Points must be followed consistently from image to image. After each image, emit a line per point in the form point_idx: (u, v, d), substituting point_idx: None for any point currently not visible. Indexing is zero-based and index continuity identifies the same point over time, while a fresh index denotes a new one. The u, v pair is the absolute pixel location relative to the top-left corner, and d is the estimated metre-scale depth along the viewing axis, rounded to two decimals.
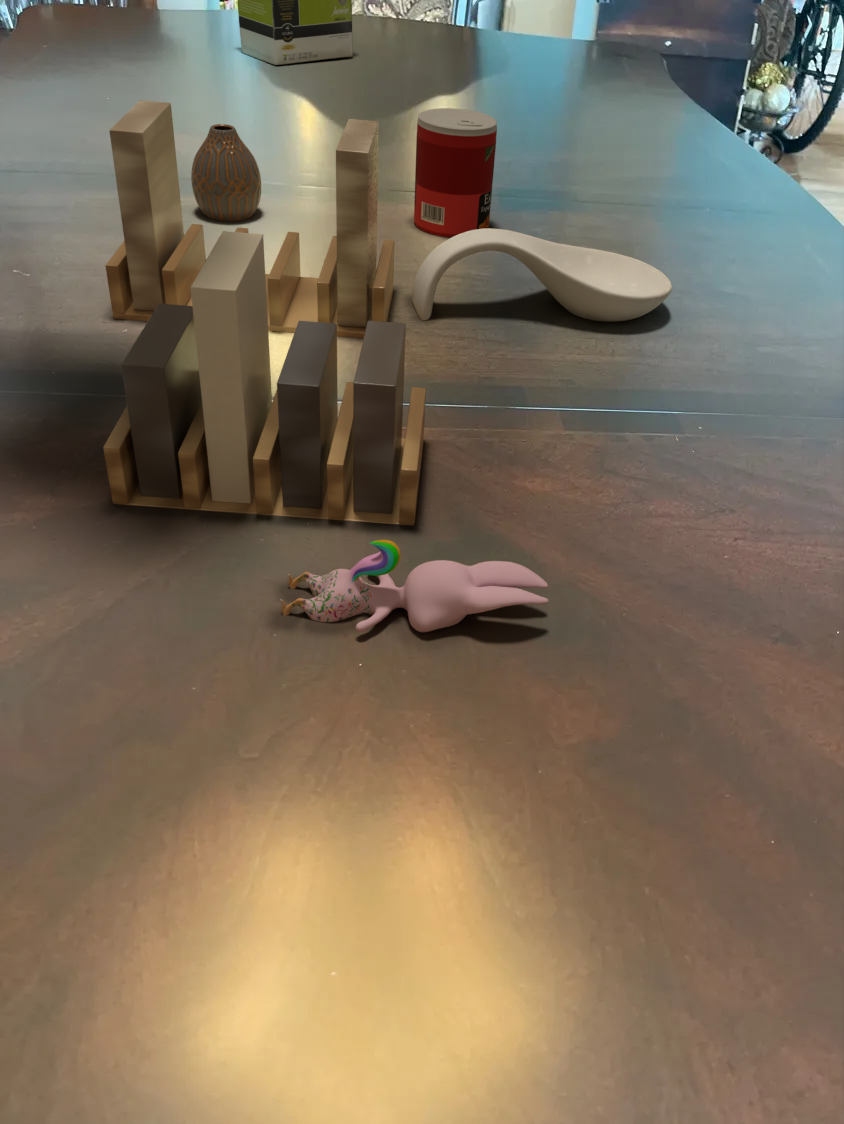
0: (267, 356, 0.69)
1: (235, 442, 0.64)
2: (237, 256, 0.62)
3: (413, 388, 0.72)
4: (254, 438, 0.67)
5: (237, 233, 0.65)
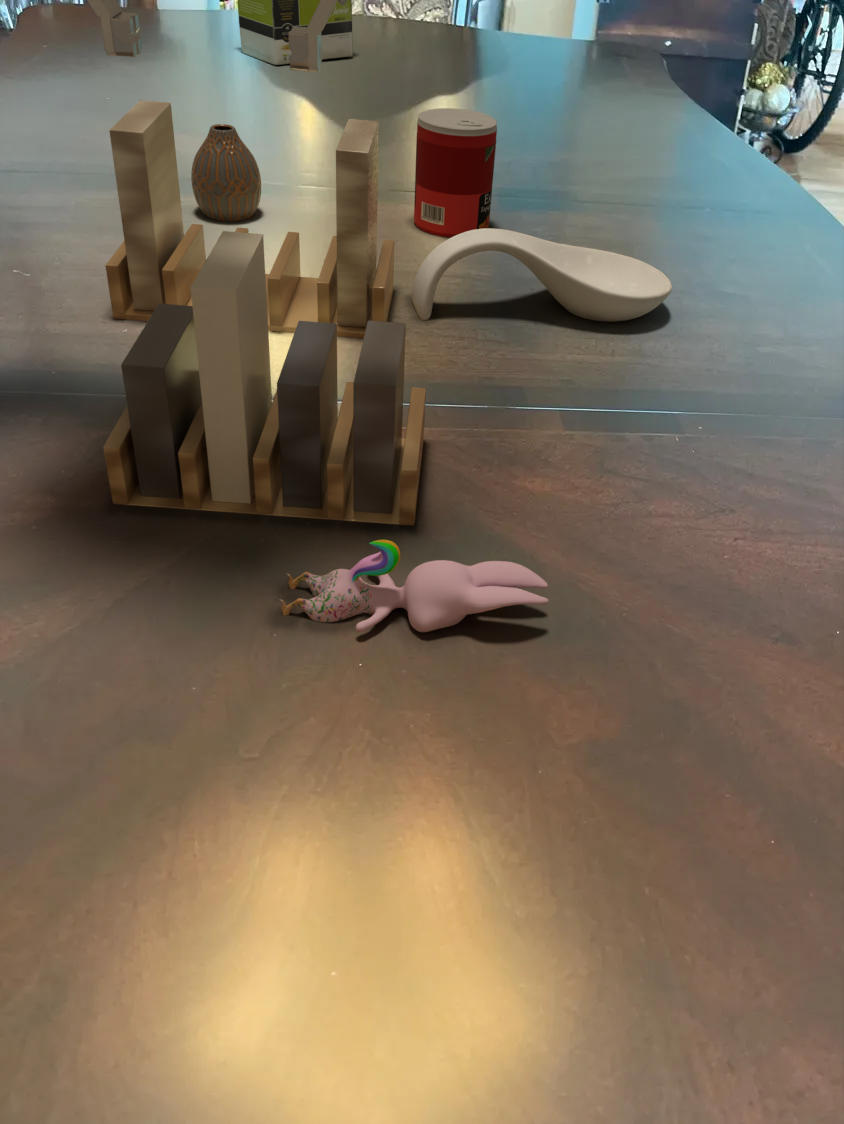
0: (267, 356, 0.69)
1: (235, 442, 0.64)
2: (237, 256, 0.62)
3: (413, 388, 0.72)
4: (254, 438, 0.67)
5: (237, 233, 0.65)
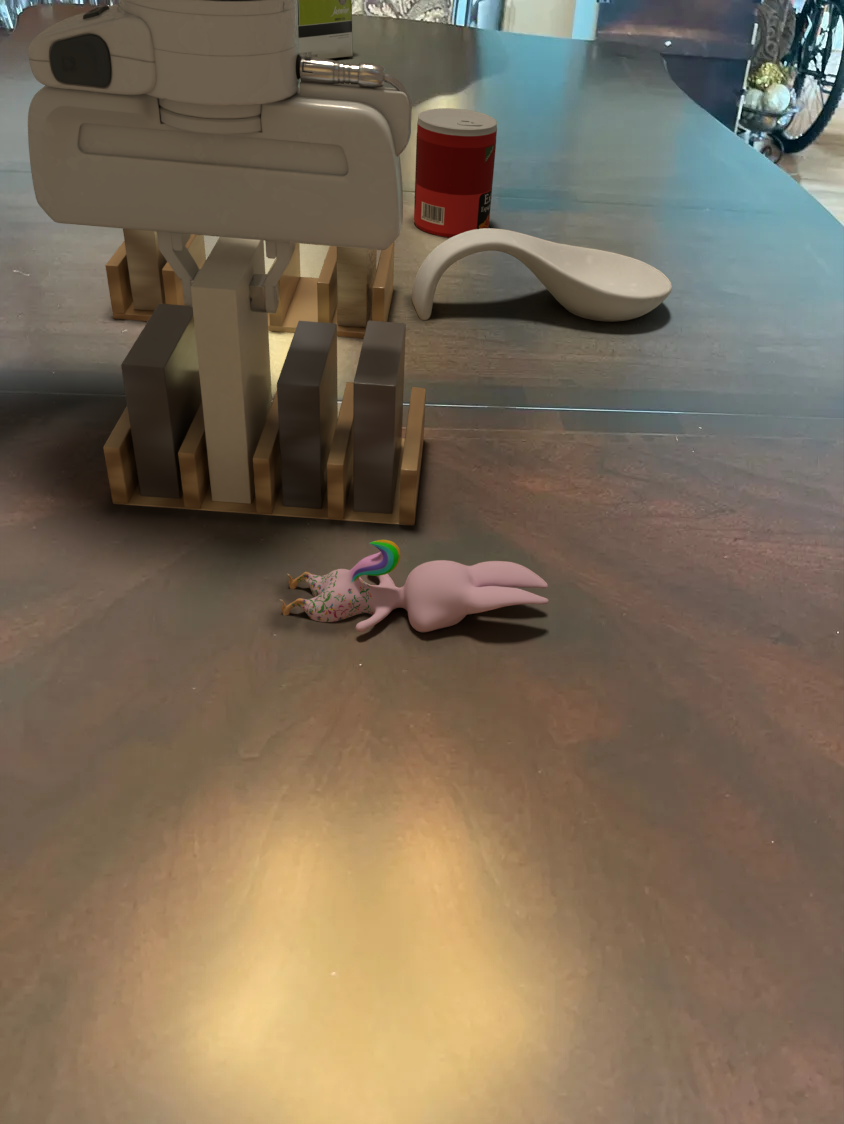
0: (267, 356, 0.69)
1: (235, 442, 0.64)
2: (237, 256, 0.62)
3: (413, 388, 0.72)
4: (254, 438, 0.67)
5: None
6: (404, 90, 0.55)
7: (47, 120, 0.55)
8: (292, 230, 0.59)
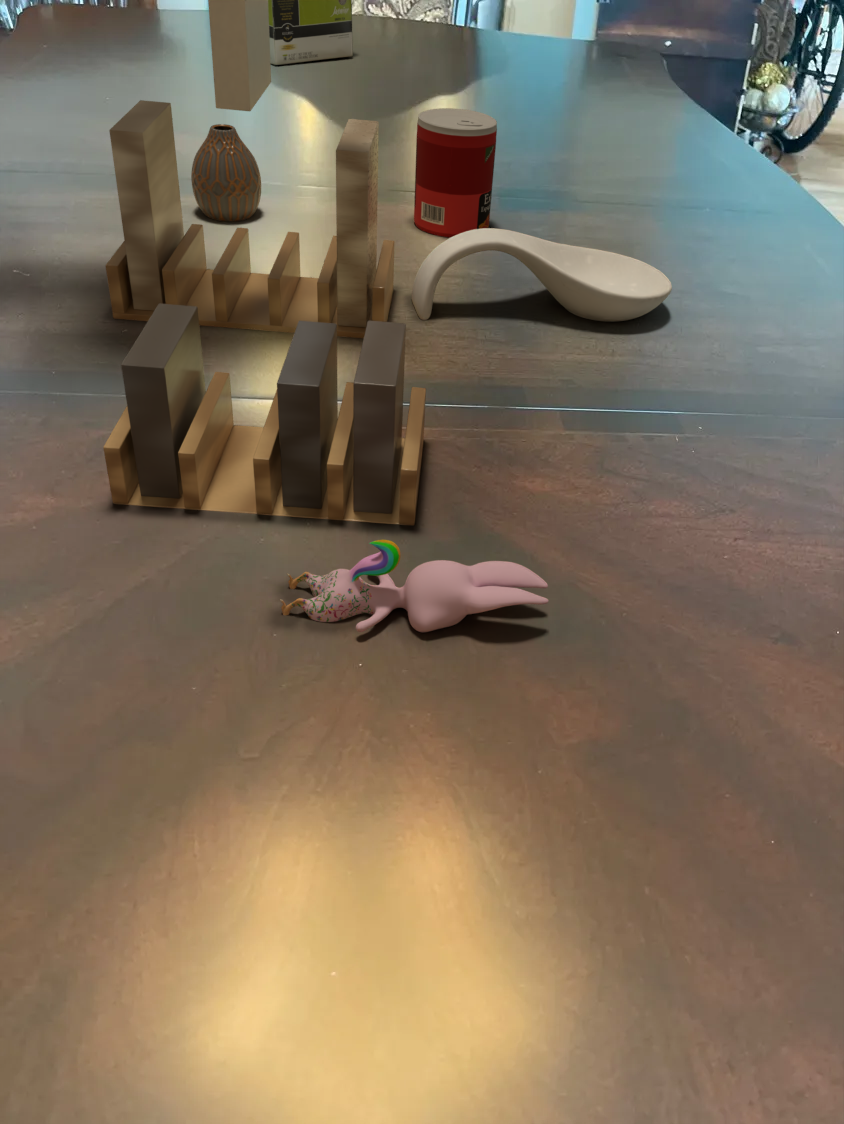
0: None
1: (237, 41, 0.73)
2: None
3: (413, 388, 0.72)
4: (253, 51, 0.75)
5: None
6: None
7: None
8: None
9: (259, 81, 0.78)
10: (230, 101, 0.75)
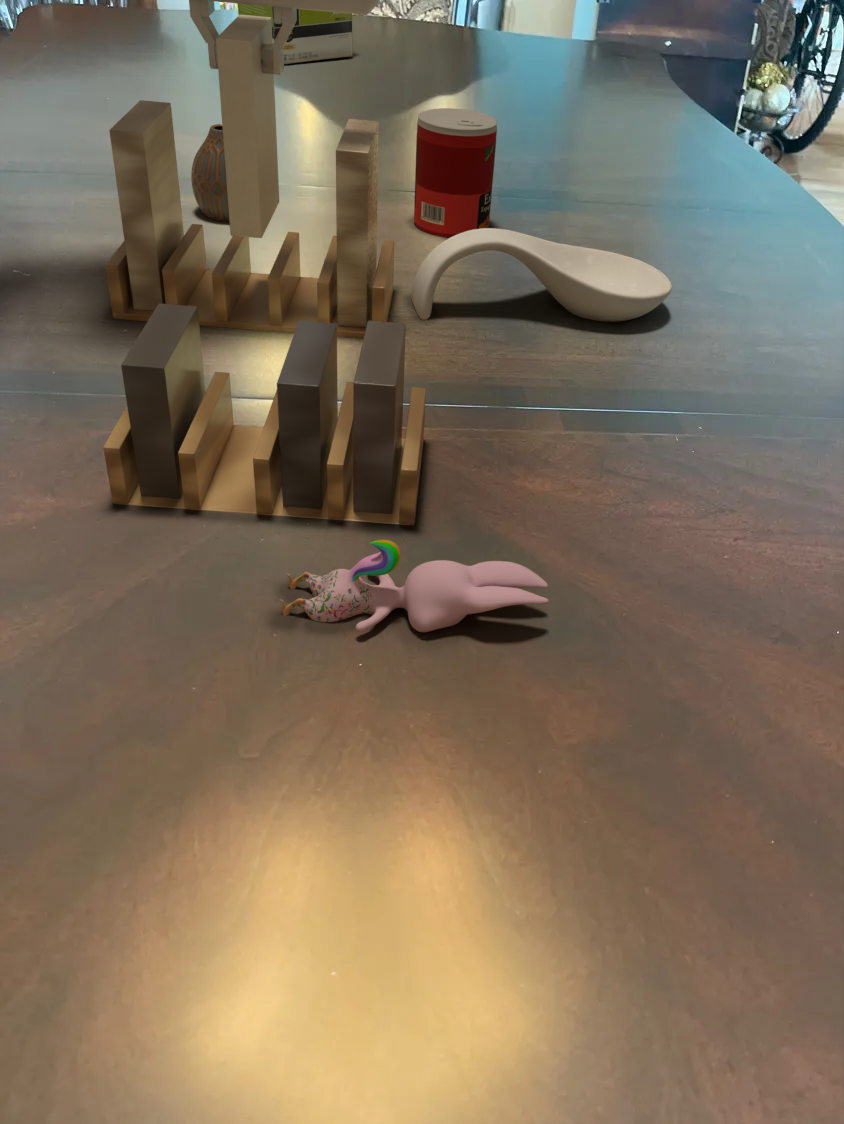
0: (274, 126, 0.86)
1: (249, 180, 0.81)
2: (251, 26, 0.79)
3: (413, 388, 0.72)
4: (264, 184, 0.84)
5: (251, 16, 0.82)
6: None
7: None
8: None
9: (269, 207, 0.86)
10: (243, 230, 0.84)
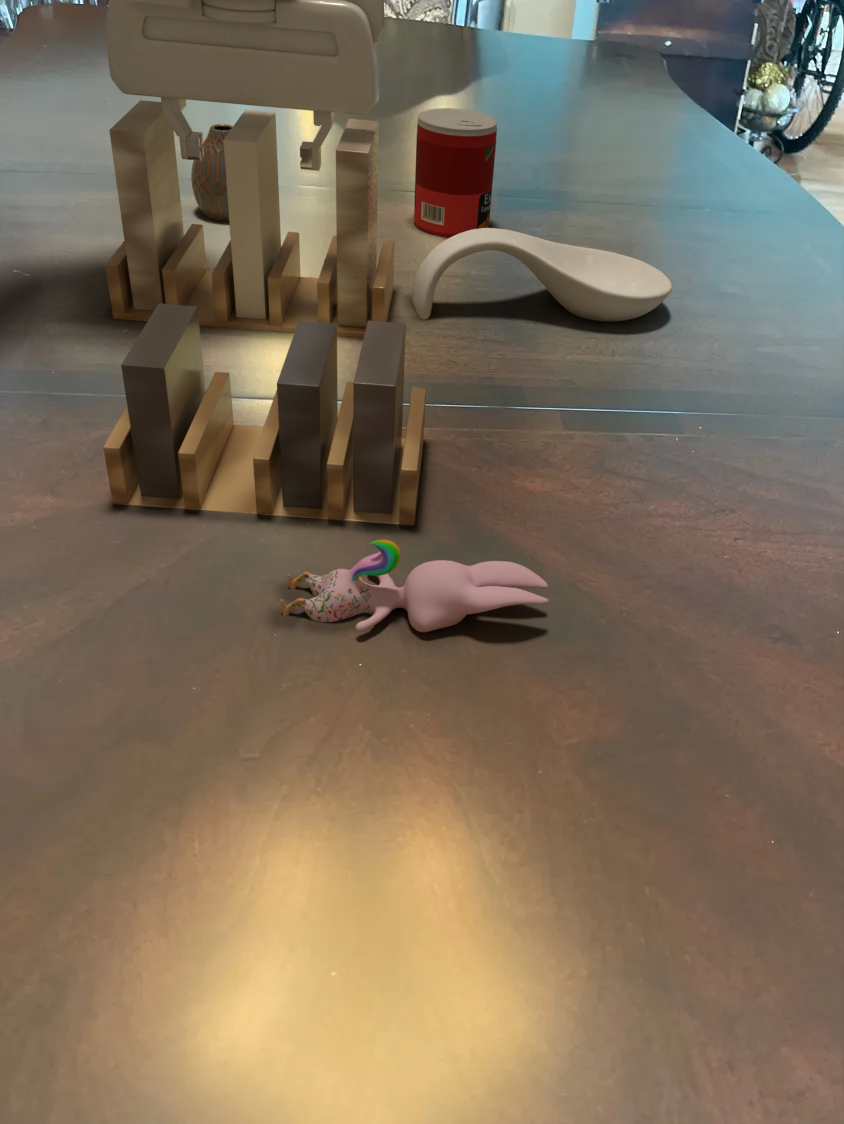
0: (278, 211, 0.91)
1: (254, 267, 0.85)
2: (256, 124, 0.83)
3: (413, 388, 0.72)
4: (268, 269, 0.88)
5: (256, 111, 0.86)
6: None
7: (121, 12, 0.76)
8: (297, 98, 0.80)
9: None
10: (248, 312, 0.88)
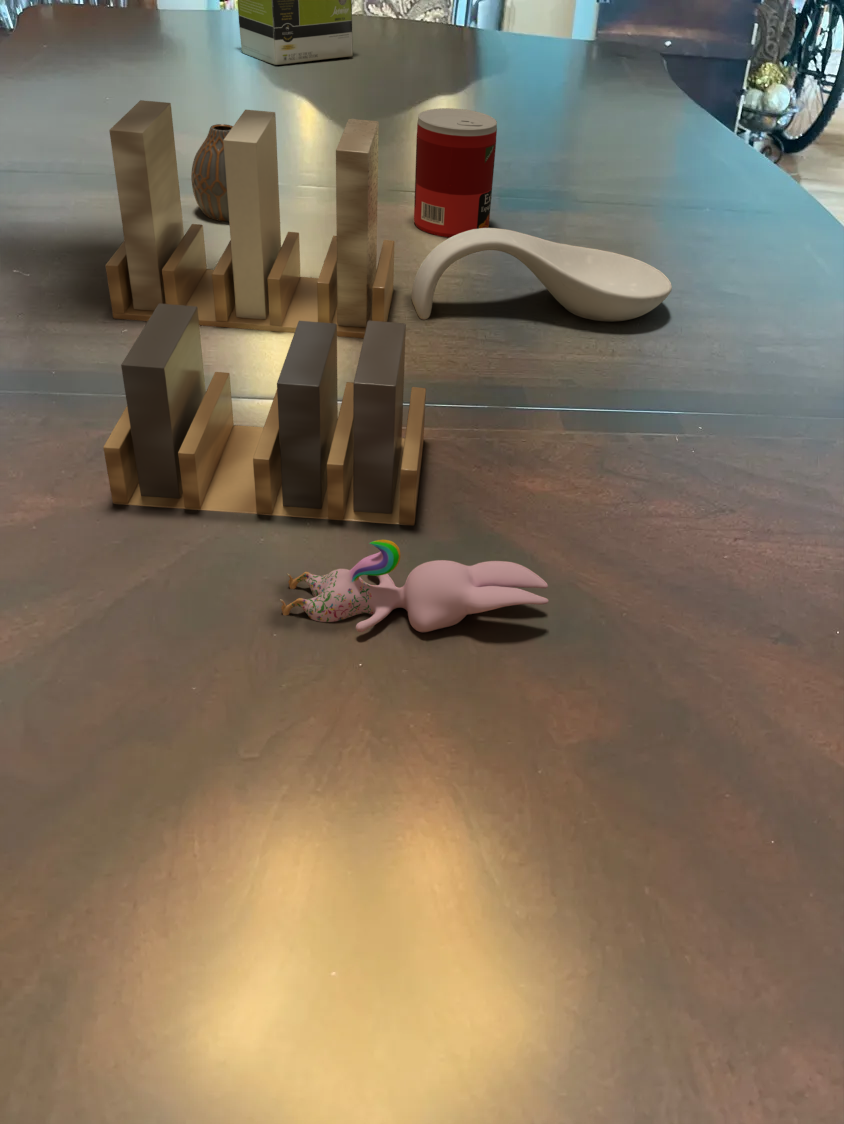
0: (278, 211, 0.91)
1: (254, 267, 0.85)
2: (256, 124, 0.83)
3: (413, 388, 0.72)
4: (268, 269, 0.88)
5: (256, 111, 0.86)
6: None
7: None
8: None
9: None
10: (248, 312, 0.88)
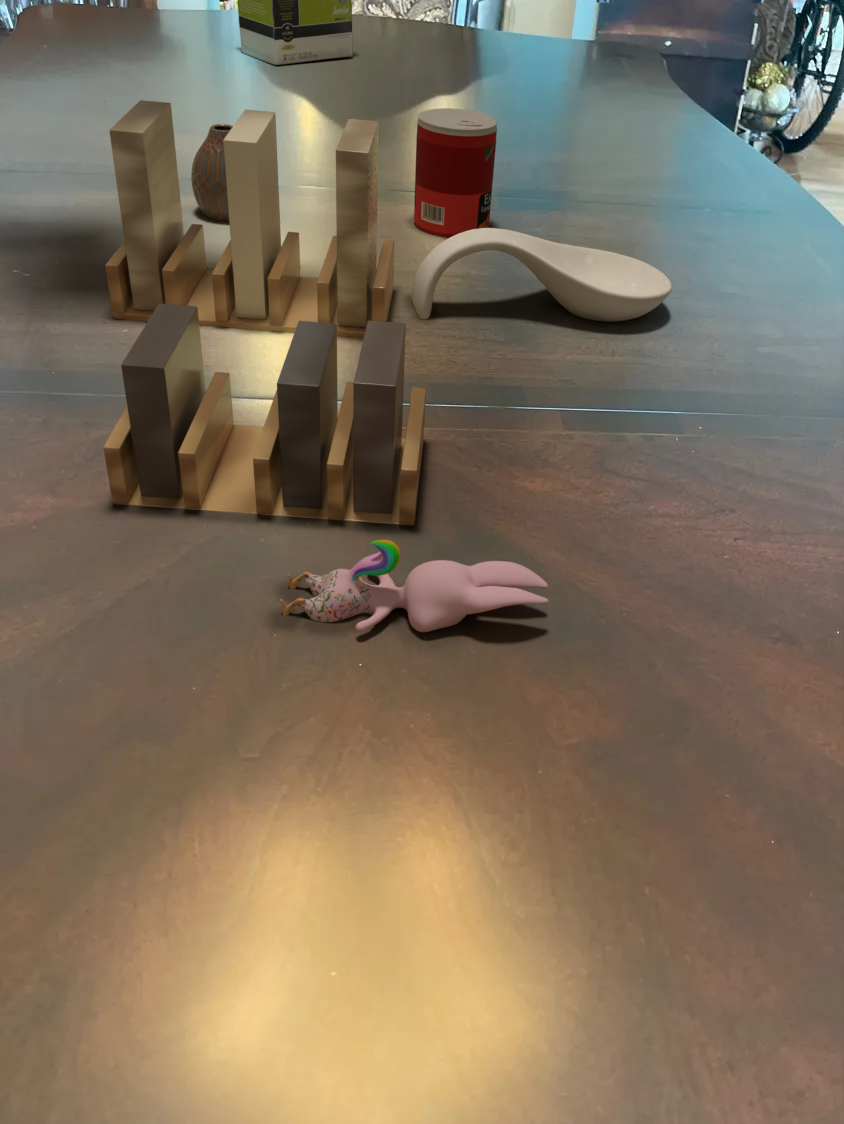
0: (278, 211, 0.91)
1: (254, 267, 0.85)
2: (256, 124, 0.83)
3: (413, 388, 0.72)
4: (268, 269, 0.88)
5: (256, 111, 0.86)
6: None
7: None
8: None
9: None
10: (248, 312, 0.88)
